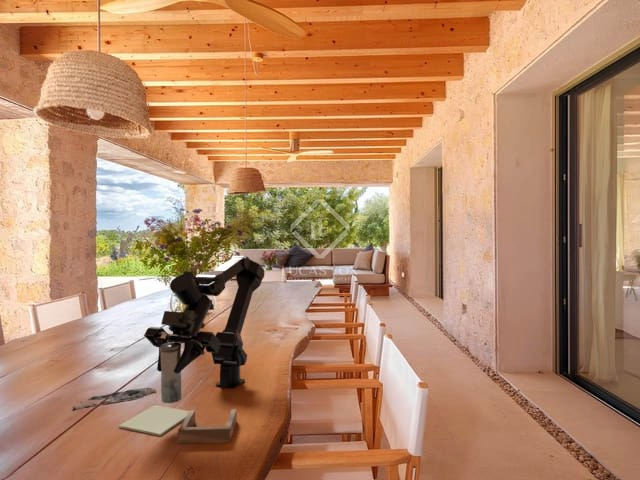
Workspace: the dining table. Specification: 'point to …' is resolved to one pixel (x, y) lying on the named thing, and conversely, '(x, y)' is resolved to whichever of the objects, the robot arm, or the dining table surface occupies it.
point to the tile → (155, 420)
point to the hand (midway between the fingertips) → (167, 371)
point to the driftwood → (121, 396)
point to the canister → (170, 372)
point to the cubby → (206, 430)
